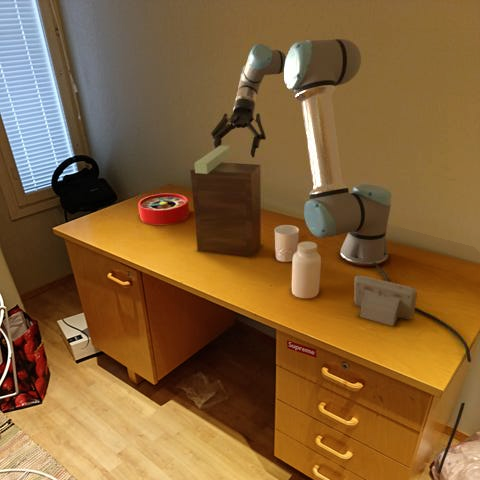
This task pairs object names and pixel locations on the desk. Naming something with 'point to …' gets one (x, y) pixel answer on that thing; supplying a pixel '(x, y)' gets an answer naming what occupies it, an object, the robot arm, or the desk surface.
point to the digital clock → (384, 300)
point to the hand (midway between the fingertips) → (234, 154)
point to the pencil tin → (212, 159)
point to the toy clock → (163, 209)
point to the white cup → (286, 242)
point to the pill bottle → (306, 270)
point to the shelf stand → (228, 209)
